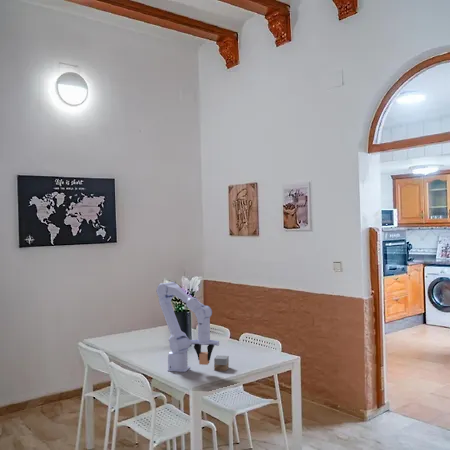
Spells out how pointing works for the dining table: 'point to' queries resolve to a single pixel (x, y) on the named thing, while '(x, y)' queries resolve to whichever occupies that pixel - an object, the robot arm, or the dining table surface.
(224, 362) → the slate slab
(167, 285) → the robot arm
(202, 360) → the tan clay cube
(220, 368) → the walnut slab
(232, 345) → the dining table surface
